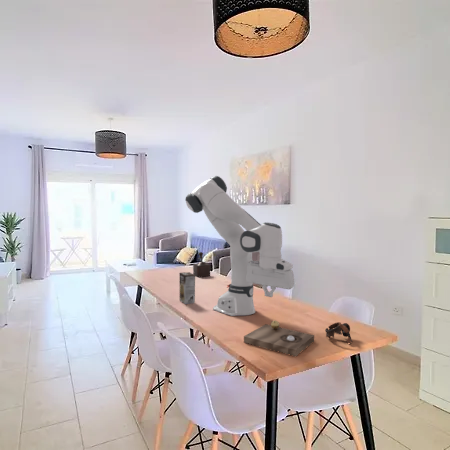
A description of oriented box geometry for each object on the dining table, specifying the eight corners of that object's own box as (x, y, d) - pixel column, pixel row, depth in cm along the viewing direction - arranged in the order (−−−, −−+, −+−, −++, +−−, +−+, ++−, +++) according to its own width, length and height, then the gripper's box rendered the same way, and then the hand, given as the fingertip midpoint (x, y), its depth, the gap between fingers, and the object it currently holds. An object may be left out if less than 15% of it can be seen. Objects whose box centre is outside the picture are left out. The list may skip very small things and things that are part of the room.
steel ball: (285, 345, 132) (283, 336, 132) (289, 344, 134) (287, 335, 135) (293, 345, 130) (292, 336, 130) (297, 343, 132) (295, 334, 133)
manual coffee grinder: (211, 276, 268) (211, 253, 267) (199, 277, 262) (199, 254, 261) (201, 273, 281) (201, 251, 280) (189, 274, 275) (189, 252, 274)
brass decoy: (269, 329, 142) (269, 320, 142) (273, 326, 145) (273, 318, 145) (276, 330, 140) (277, 322, 140) (280, 328, 143) (280, 320, 143)
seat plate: (243, 342, 134) (243, 336, 134) (265, 329, 149) (265, 324, 149) (295, 356, 121) (295, 349, 121) (314, 341, 136) (314, 335, 136)
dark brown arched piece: (348, 348, 130) (337, 329, 131) (329, 352, 137) (318, 333, 138) (360, 333, 138) (350, 315, 139) (342, 337, 145) (332, 319, 146)
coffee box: (178, 300, 196) (179, 272, 195) (189, 299, 198) (189, 271, 198) (184, 304, 187) (184, 275, 187) (195, 303, 190) (195, 274, 190)
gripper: (244, 260, 141) (242, 293, 141) (290, 267, 129) (288, 302, 130) (251, 259, 146) (250, 290, 147) (296, 265, 135) (294, 299, 135)
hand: (268, 296), depth 138 cm, fingers closed
